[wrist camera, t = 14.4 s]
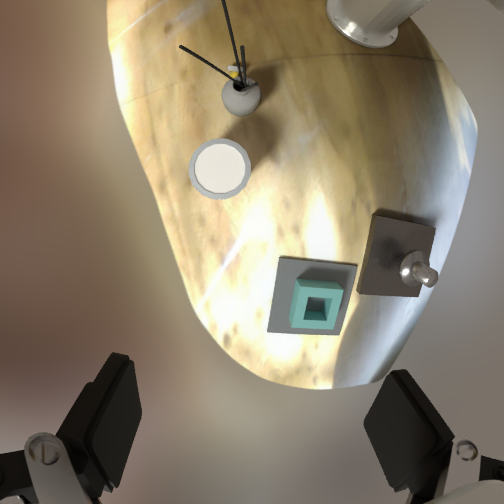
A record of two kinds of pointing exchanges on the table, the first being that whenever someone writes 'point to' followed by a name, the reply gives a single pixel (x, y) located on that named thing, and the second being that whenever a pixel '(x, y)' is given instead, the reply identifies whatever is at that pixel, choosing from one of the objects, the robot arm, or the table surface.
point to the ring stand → (397, 258)
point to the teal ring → (315, 318)
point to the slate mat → (284, 294)
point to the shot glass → (219, 168)
